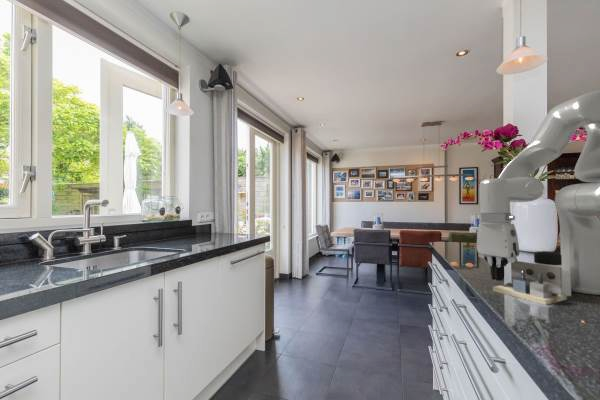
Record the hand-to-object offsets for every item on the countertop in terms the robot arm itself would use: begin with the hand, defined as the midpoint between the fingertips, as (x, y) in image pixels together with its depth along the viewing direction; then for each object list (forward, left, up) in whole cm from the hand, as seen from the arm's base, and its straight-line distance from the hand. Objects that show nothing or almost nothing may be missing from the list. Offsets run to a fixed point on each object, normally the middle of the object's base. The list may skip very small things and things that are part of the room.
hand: (497, 279), depth 85 cm
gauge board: (-1, +7, -3) cm, 8 cm away
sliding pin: (0, +7, -1) cm, 7 cm away
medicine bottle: (-10, +8, -4) cm, 14 cm away
